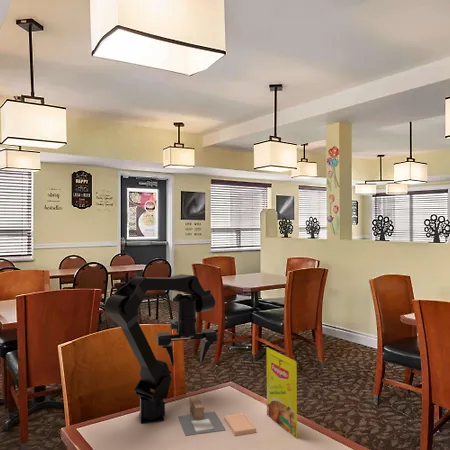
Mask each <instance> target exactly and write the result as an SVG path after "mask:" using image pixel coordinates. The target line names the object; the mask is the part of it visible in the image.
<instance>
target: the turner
mask: <svg viewBox="0 0 450 450" xmlns="http://www.w3.org/2000/svg"><path fill="white" fill-rule="evenodd" d="M189 412H190V415H191V414H192V416H193V418H194V420H195V421H191V424H192V426H193V428H194V430H195V432H196V433H200V432H207V431H214V427H213V426H212V424H211V422H210V420H209V419H204V413H205V407H204V404H203V403H202V401H201V399H200V398H199V396H192V397H189Z"/></svg>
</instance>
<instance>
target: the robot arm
mask: <svg viewBox="0 0 450 450" xmlns="http://www.w3.org/2000/svg"><path fill="white" fill-rule="evenodd" d="M149 291H151V292H154V291H155V292H157V291H158V292H159V291H163V292H164V291H173V292H177V294H176V295H175V296H174V297H173V298H172V300H171V301H172V302H175V303H177V319H175V318H174V319H170V320H169V321H170V323H169V324H170V325H169V326H170V327H169V329H170V331H174V330H175V332H176V333H177V334H176V333H175V334H171V333H170V331H161V332H160V331H159V332H157V333H156V337H155V338H156V339H155V340H156V343H157V346H158V347H159V346H161V347H162V349H165V350H166V351H167V355H168V358H169V361H170V364H171V366H172V367H174V364H175V361H174V352H173V351H174V350H173V344H172V342H174V341H176V342H177V341H178V342H179V341H188V340H189V341H190V340H200V343H201V346H200V357H199V358H200V359H199V360H200V364H203V363H204V360H205V358H206V355H207V352H208V351H209V349H210V347H211V345H214V343H215V342H217V341H219V335H218V333H217V331H215V329H213V328H206V329H205V328H204V329H201V332H197V313H202V312H207V311H212V310H213V309H214V308H215V305H216V299H215V297H214V295H213V294H212V293H211V289H204V288H203V286H202V285H201V283H200V281H199V279H198V276H197V275H195V274H194V275H193V274H191V275H190V274H183V273H180V274H176V275H172V276H169V277H148V276H147V277H146V276H145V277H143V276H134V277H132V278H131V279H130V280H129V281H128V282H127V283H126V284H124V285H123V286H121V287H120V288H118V289H117V290H116V291H115V292H114V293H112V295H110V296H109V297H108V298H107V299H106V301H105V305H104V311H105V312H106V314H107V316H109V318H110V319H111V320H112V321H113V322H114V323H116V325H118V327H120V329H121V330H122V332H123V334H124V336H125V338H126V340H127V342H128V344H129V346H130V348H131V350H132V352H133V354H134V356H135V358H136V360H137V362H138V364H139V366H140V371H139V376H140V379H139V381H138V383H137V384H136V386H135V387H134V393H135V395H136V396H138V397H139V415H138V416H139V420H140V424H141V425H142V424H150V423H151V424H152V423H159V422H163V421H165V418H164V417H165V416H166V401H165V399H168V394H169V391H170V387H171V382H172V375H171V374H172V371H170V369H169V366H168V364H167V362H166V361H163V360H159V359H157V357H156V355H155V354H154V352H153V350H152V347H151V346H150V343H149V342H148V340H147V337H146V335H145V333H144V331H143V329H142V327H141V325H140V322H139V315H140V314H139V313H140V312H139V310H138V309H139V306H140V305H141V304H142V303H143V301H144V297H145V294H146V293H147V292H149Z"/></svg>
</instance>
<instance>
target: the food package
mask: <svg viewBox="0 0 450 450" xmlns="http://www.w3.org/2000/svg"><path fill="white" fill-rule="evenodd" d="M265 352H266V416H268V417H269V418H270V419H271V420H272V421H274V423H276V424H277V425H279V426H280V427H281V428H282V429H284V431H286V432H287V433H289V434H290V435H292V436H293V437H294V438H295V439H298V398H297V396H298V393H297V392H298V387H297V385H298V382H297V380H298V377H297V376H298V375H297V374H298V373H297V371H298V368H297V360H294V359H291V358H290V357H288V356H286V355H284V354H281V353H279V352H277V351H276V350H274V349H272V348H269V347H268V346H267V347H266V351H265Z"/></svg>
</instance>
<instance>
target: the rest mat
mask: <svg viewBox="0 0 450 450" xmlns="http://www.w3.org/2000/svg"><path fill="white" fill-rule="evenodd" d="M204 419H209V420H210V422H211V424H212V426H213V427H214V431H207V432H200V433H196V432H195V430H194V428H193V426H192V424H191V421H195V420H194V418H193V416H192V414H191V413H190V414H185V415H178V421H179V422H180V426H181V427H182V430H183V433H184V436H186V437H189V436H195V435H202V434H210V433H217V432H223V431H224V432H225V431H226V430H227V429H226V428H225V426H224V425H223V423H222V421H221V419H220V418H219V417H218V414H217V413H216V411H209V412H204Z"/></svg>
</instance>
